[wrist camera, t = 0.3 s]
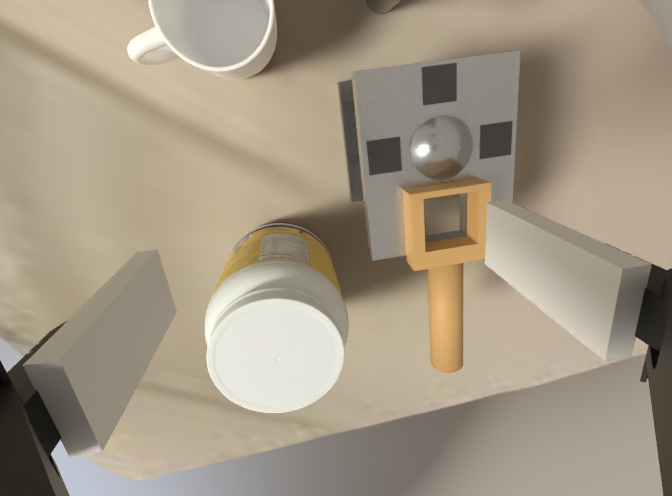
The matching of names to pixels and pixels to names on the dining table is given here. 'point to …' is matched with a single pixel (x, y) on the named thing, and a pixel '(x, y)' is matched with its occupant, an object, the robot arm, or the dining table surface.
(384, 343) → the dining table surface
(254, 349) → the supplement tub
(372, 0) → the wedge pin
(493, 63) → the ball joint plate
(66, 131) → the dining table surface
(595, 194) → the dining table surface
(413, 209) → the wooden handled frame
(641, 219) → the dining table surface
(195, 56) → the cup
